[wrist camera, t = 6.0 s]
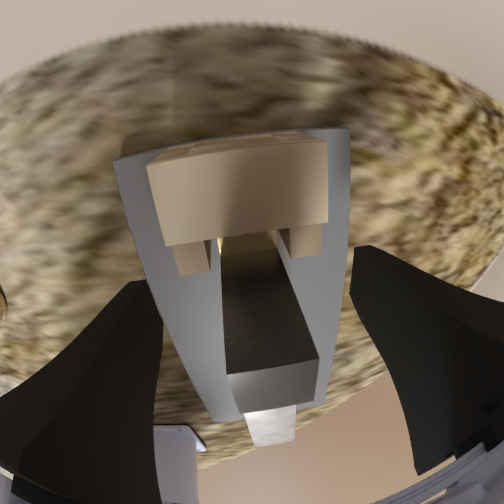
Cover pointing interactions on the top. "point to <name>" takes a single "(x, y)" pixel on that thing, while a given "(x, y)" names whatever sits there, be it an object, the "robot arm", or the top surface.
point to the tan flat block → (264, 327)
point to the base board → (209, 283)
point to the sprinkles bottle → (2, 308)
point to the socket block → (241, 193)
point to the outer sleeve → (272, 425)
